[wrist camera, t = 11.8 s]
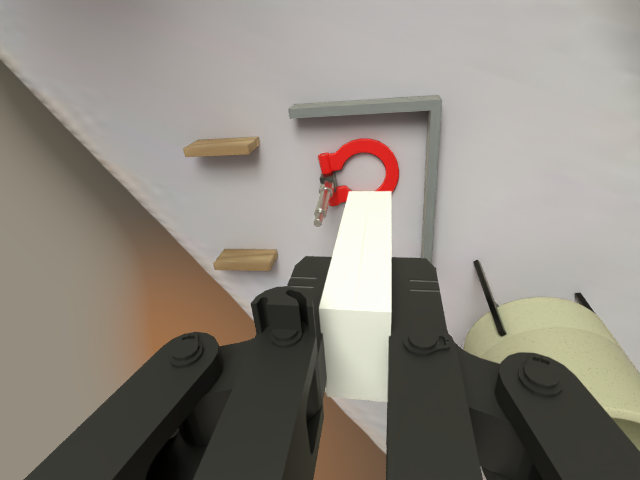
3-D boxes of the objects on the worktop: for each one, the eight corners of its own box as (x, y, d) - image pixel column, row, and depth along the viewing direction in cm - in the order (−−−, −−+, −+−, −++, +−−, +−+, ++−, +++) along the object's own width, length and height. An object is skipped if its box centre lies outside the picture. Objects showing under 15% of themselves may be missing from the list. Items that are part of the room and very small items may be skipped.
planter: (530, 227, 46) (633, 376, 26) (597, 308, 50) (731, 492, 30) (427, 289, 53) (448, 445, 33) (493, 356, 57) (547, 532, 37)
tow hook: (393, 130, 44) (316, 146, 46) (401, 165, 33) (298, 183, 34) (402, 197, 48) (330, 208, 50) (412, 248, 36) (319, 261, 38)
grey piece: (294, 104, 44) (288, 109, 41) (438, 95, 41) (441, 99, 38) (314, 276, 55) (310, 288, 52) (427, 278, 52) (429, 292, 50)
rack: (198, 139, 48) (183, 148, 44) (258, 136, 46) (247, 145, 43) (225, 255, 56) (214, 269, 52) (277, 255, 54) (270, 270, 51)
